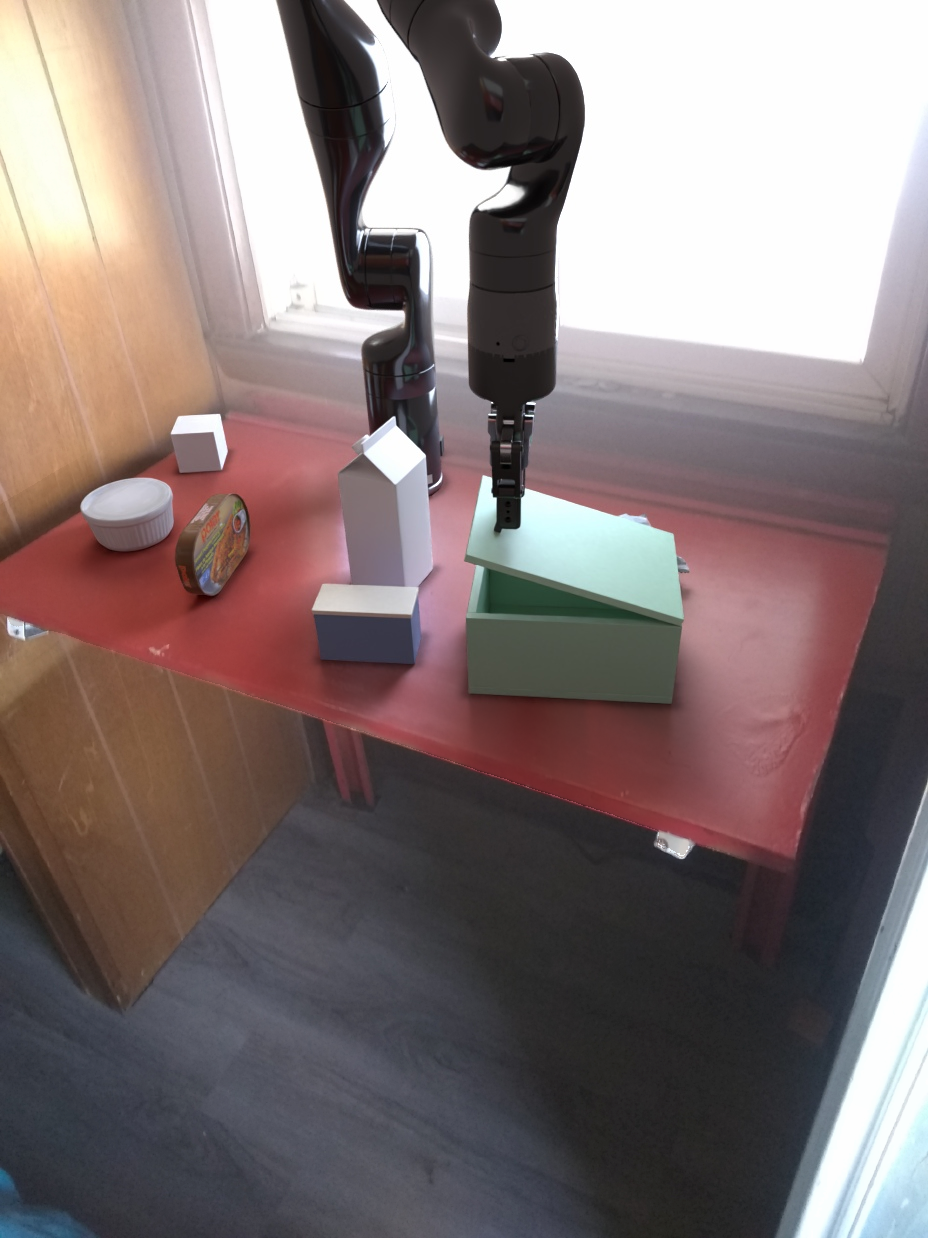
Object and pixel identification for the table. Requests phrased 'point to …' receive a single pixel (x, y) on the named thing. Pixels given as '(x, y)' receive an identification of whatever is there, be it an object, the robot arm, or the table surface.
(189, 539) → the tin
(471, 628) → the box
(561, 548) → the lid
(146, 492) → the ramekin
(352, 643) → the snack box
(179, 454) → the white cube
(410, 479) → the milk carton
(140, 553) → the table surface
